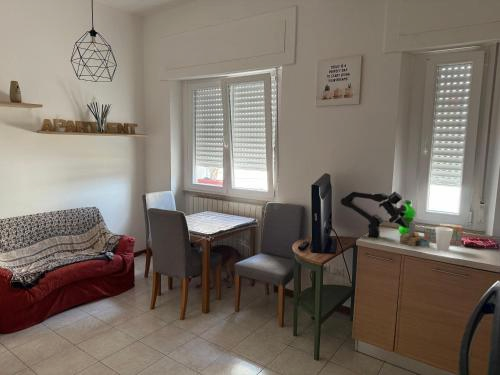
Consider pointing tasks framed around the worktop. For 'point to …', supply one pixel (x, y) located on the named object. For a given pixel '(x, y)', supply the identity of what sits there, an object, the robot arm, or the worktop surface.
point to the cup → (424, 243)
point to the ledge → (410, 239)
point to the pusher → (411, 228)
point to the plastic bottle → (407, 218)
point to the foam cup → (443, 238)
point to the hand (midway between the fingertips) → (406, 227)
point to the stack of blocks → (457, 229)
